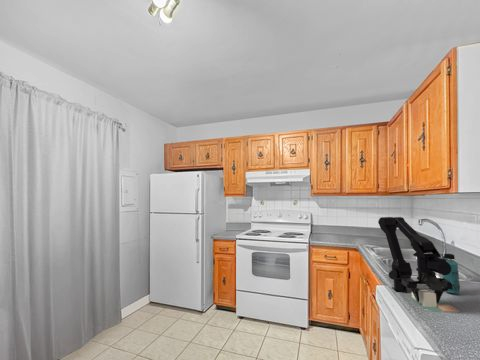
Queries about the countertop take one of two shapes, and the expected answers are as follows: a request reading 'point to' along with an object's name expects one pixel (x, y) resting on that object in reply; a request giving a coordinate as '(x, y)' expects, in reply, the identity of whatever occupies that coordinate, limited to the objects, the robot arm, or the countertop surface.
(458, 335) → the countertop surface
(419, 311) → the countertop surface
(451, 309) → the coaster
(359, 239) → the countertop surface
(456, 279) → the beverage bottle
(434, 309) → the mat
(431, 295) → the stub
